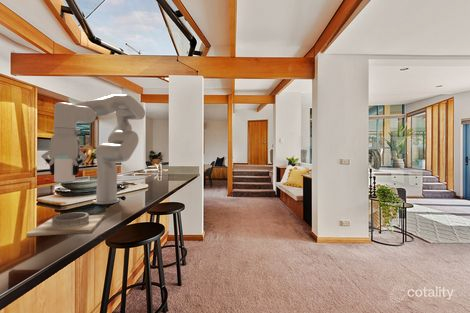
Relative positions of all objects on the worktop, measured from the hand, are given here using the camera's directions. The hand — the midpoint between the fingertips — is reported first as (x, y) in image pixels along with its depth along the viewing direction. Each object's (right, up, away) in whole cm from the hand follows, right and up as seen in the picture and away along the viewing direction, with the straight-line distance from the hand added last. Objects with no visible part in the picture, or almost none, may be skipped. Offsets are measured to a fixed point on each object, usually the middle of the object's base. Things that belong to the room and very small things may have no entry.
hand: (64, 174), depth 94 cm
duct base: (+11, -18, -12) cm, 24 cm away
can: (0, -4, 0) cm, 4 cm away
